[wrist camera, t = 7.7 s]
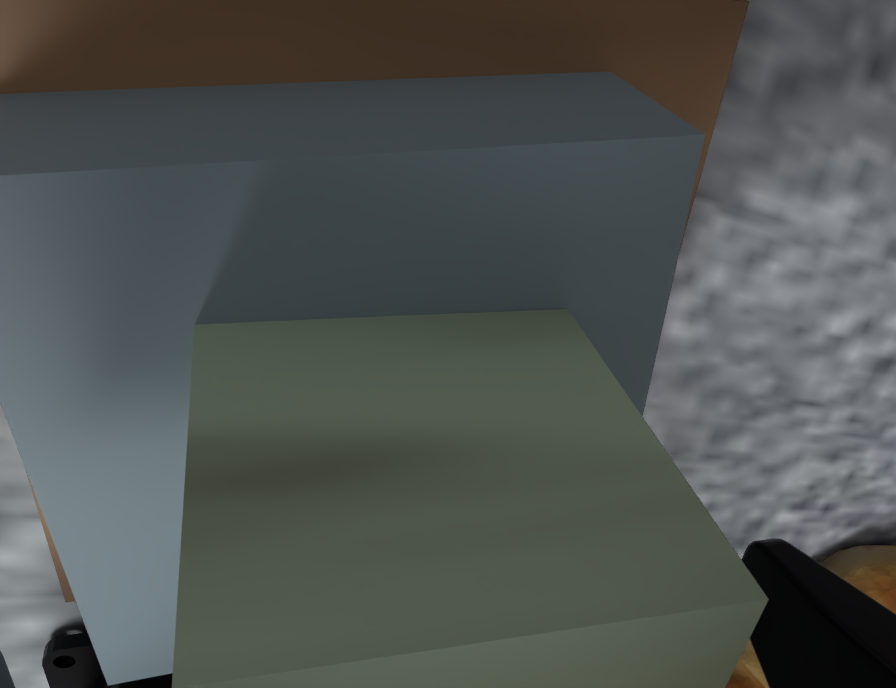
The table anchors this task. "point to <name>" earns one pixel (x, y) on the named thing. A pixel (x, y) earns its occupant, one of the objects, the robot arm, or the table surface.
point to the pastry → (865, 567)
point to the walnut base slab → (370, 50)
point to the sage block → (440, 515)
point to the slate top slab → (293, 267)
